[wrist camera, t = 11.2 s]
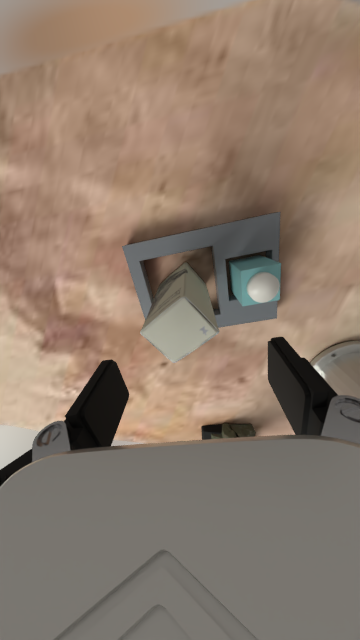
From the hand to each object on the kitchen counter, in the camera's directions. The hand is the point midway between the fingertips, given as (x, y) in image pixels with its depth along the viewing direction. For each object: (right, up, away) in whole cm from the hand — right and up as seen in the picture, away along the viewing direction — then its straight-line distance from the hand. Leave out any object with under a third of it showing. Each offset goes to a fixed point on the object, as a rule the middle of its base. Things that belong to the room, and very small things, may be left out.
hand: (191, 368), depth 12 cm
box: (0, +8, +15) cm, 17 cm away
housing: (+3, +8, +14) cm, 17 cm away
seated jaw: (+8, +9, +14) cm, 18 cm away
